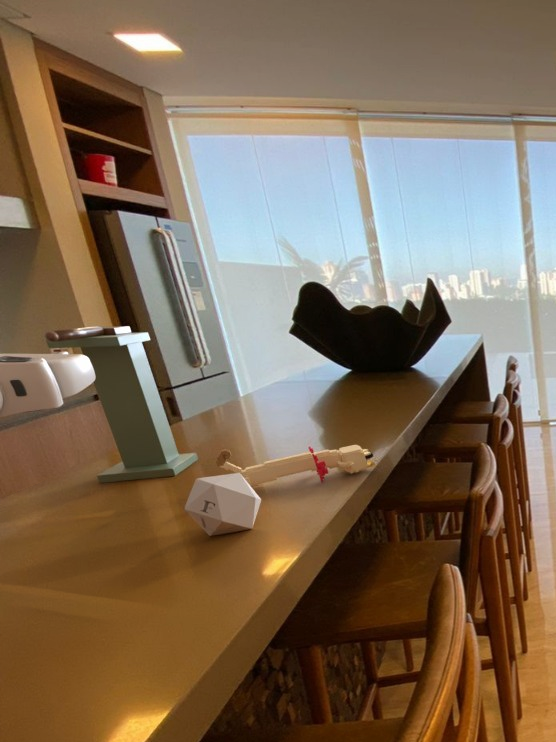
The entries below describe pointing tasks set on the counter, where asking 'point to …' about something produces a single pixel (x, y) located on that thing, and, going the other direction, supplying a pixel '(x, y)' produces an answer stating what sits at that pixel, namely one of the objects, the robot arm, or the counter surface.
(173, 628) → the counter surface
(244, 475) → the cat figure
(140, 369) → the spoon stand
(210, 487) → the die
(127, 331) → the spoon
